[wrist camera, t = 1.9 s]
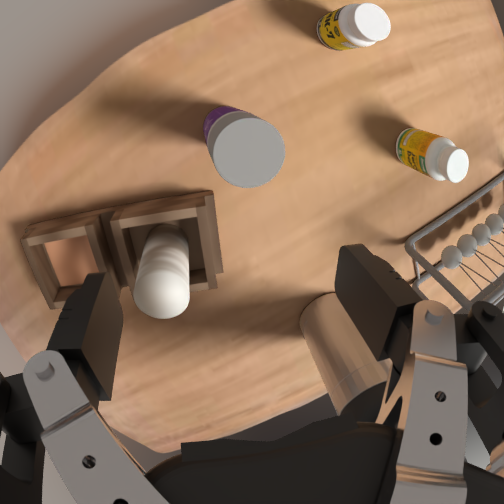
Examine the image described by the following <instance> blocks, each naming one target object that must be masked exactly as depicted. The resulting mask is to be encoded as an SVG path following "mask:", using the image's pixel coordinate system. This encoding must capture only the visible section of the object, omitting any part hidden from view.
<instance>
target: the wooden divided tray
mask: <svg viewBox="0 0 504 504" xmlns="http://www.w3.org/2000/svg"><path fill="white" fill-rule="evenodd" d="M25 233H26V234H25V235H24V236H23V237H22V238H21V240H20V241H21V244H22V246H23V249H24V252H25V254H26V257H27V259H28V262H29V264H30V266H31V269H32V271H33V273H34V276H35V278H36V280H37V283H38V285H39V287H40V289H41V291H42V293H43V296H44V298H45V300H46V302H47V304H48V306H49V308H50V309H59V308H63V306H64V304H65V302H66V300H67V298H68V297H69V296H70V295H71V294H72V293H73V292H74V291H75V290H76V289H81V287H82V285H83V282H84V280H85V278H86V276H87V274H88V273H97V272H106V271H108V272H109V273H110V274H111V276H112V279H113V283H114V286H115V289H116V292H117V295H118V299H119V297H120V293H121V289H122V287H125V286H129V288H130V291H131V293H132V296H133V299H134V301H135V303H136V305H137V306H138V308H139V309H140V310H141V311H142V312H144V313H145V314H147V315H149V316H151V317H154V318H160V319H166V318H172V317H175V316H177V315H179V314H181V313H182V312H183V311H184V310H185V309H186V308H187V306H188V303H189V297H190V296H189V292H194V291H201V290H208V289H215V288H217V281H216V275H215V274H217V273H223V265H222V258H221V250H220V242H219V234H218V226H217V218H216V210H215V201H214V194H213V191H207V192H199V193H192V194H186V195H179V196H173V197H166V198H160V199H154V200H148V201H142V202H137V203H131V204H125V205H120V206H115V207H109V208H104V209H99V210H94V211H89V212H84V213H80V214H75V215H70V216H66V217H61V218H57V219H52V220H48V221H44V222H39V223H35V224H31V225H29V226H28V227H27V228H26V229H25Z"/></svg>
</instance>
